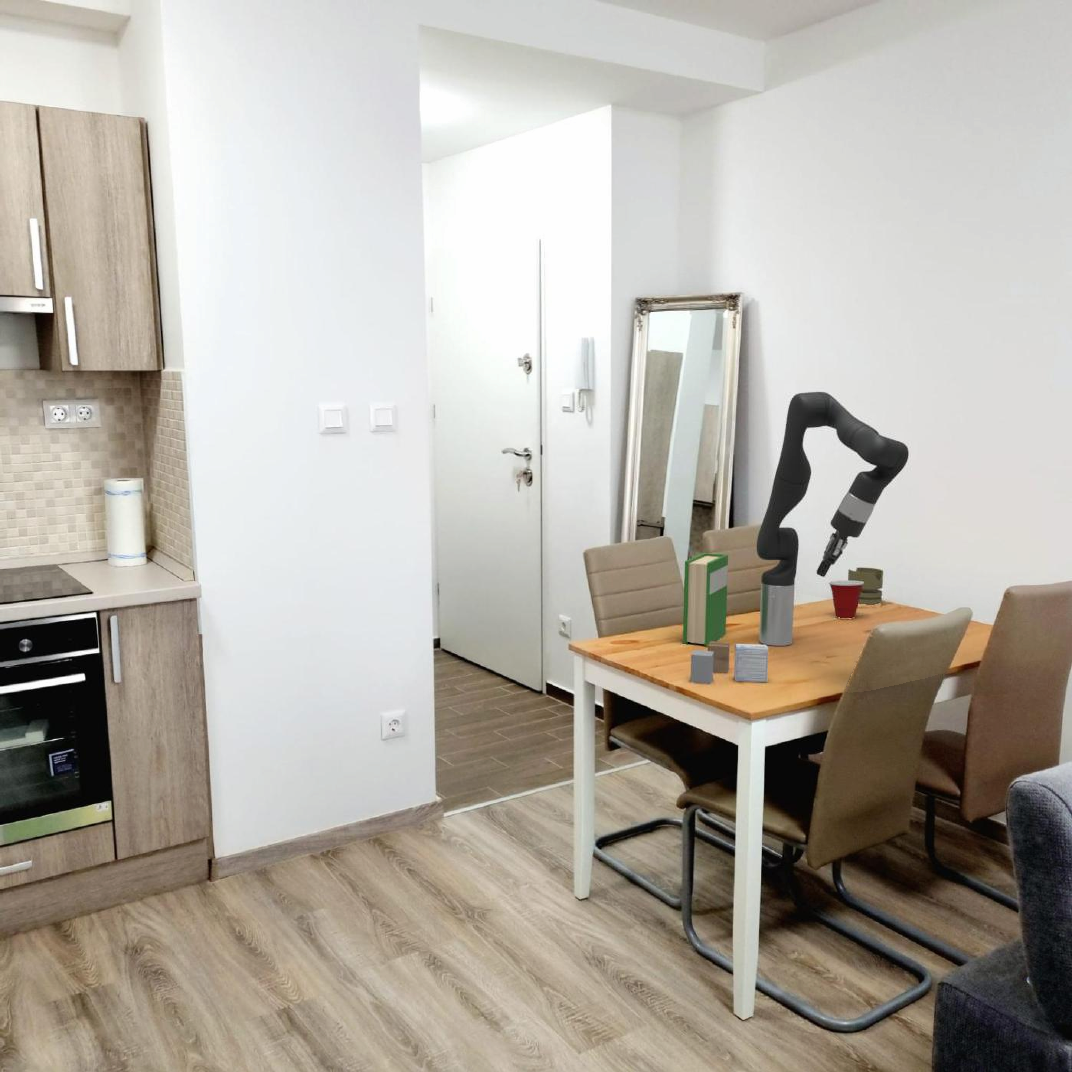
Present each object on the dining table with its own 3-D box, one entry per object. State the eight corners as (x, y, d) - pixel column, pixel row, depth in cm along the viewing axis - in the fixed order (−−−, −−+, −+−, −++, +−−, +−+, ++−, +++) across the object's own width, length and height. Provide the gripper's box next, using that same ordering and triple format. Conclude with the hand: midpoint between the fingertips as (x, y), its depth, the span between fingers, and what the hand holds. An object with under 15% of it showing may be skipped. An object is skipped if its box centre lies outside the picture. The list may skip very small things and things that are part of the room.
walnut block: (709, 667, 267) (710, 641, 266) (728, 668, 266) (729, 642, 265) (707, 672, 262) (708, 645, 261) (727, 673, 261) (728, 646, 260)
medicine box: (765, 678, 257) (767, 644, 256) (767, 683, 252) (768, 648, 251) (733, 677, 258) (734, 643, 257) (734, 681, 253) (736, 647, 252)
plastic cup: (843, 613, 337) (845, 577, 336) (869, 619, 328) (871, 582, 327) (819, 616, 332) (821, 579, 330) (845, 622, 323) (847, 585, 321)
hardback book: (708, 647, 289) (710, 563, 286) (682, 644, 292) (684, 561, 289) (725, 634, 304) (728, 554, 301) (701, 632, 308) (703, 553, 305)
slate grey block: (692, 677, 257) (693, 650, 256) (712, 678, 256) (713, 651, 255) (690, 682, 252) (691, 654, 252) (710, 684, 251) (711, 656, 250)
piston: (842, 569, 351) (858, 566, 358) (840, 604, 352) (857, 600, 360) (873, 574, 343) (889, 570, 350) (871, 609, 344) (887, 604, 352)
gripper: (838, 500, 254) (806, 560, 260) (839, 514, 242) (805, 576, 248) (866, 513, 253) (833, 573, 260) (868, 527, 241) (834, 590, 247)
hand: (820, 574), depth 254 cm, fingers closed
